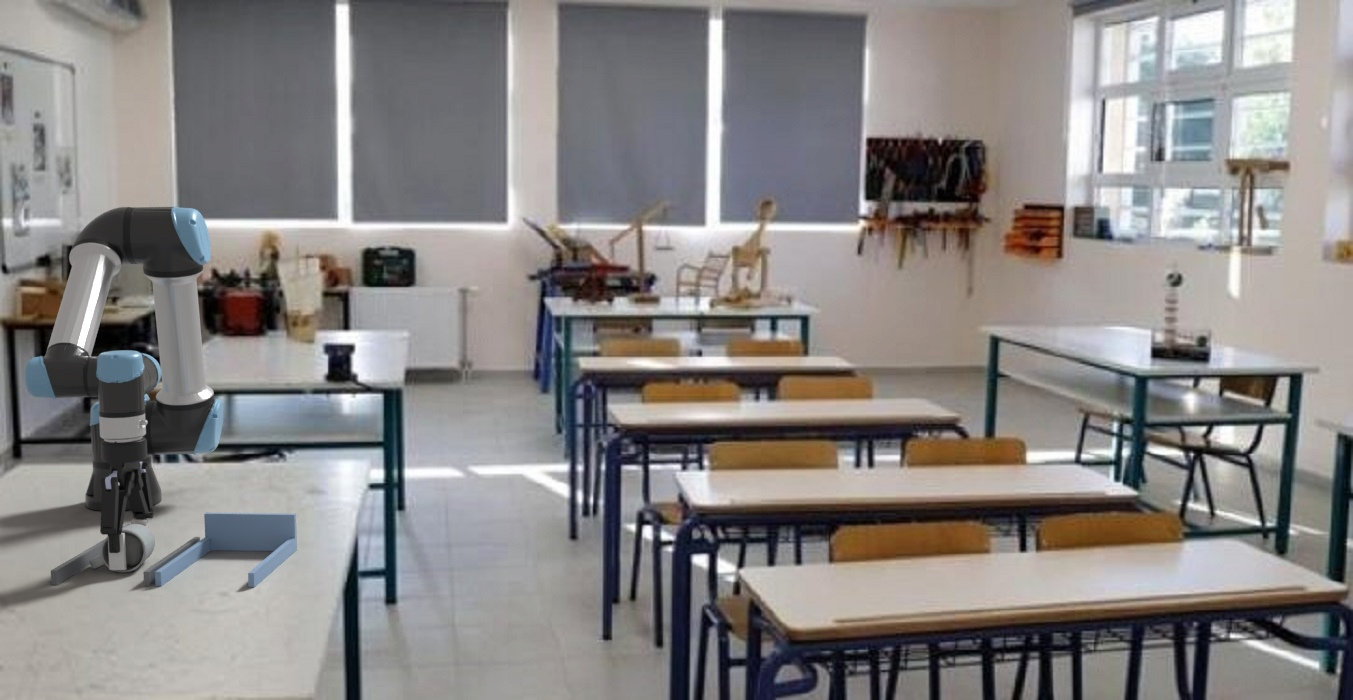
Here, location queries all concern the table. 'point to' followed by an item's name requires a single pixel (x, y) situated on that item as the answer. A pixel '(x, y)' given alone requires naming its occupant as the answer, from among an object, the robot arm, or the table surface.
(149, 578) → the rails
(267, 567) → the frame
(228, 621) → the table surface
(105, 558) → the ceramic mug
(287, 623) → the table surface
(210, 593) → the table surface
